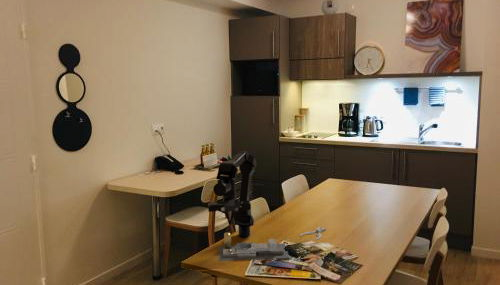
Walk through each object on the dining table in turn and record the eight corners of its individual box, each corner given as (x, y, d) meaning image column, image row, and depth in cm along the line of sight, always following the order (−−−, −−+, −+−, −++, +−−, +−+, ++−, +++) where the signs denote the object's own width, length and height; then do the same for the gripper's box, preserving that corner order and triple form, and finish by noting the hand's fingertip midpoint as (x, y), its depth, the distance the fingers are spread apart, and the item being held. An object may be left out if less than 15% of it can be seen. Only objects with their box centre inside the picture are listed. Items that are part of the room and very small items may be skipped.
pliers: (298, 233, 199) (314, 225, 211) (298, 236, 200) (314, 228, 211) (316, 237, 193) (331, 229, 205) (316, 241, 193) (331, 232, 205)
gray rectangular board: (219, 247, 187) (219, 246, 187) (284, 245, 188) (284, 243, 188) (218, 262, 171) (218, 260, 171) (289, 259, 173) (289, 257, 172)
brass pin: (224, 247, 185) (223, 232, 184) (231, 246, 186) (230, 232, 185) (224, 250, 182) (224, 235, 181) (231, 249, 183) (230, 234, 182)
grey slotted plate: (223, 251, 181) (223, 246, 181) (281, 248, 182) (281, 244, 182) (223, 258, 173) (223, 253, 173) (284, 255, 174) (284, 251, 174)
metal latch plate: (236, 246, 181) (236, 239, 181) (275, 244, 182) (274, 238, 181) (237, 253, 173) (236, 246, 173) (277, 252, 174) (276, 244, 174)
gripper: (207, 196, 171) (208, 232, 174) (251, 194, 173) (252, 229, 175) (207, 189, 182) (209, 223, 185) (249, 188, 184) (250, 221, 186)
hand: (230, 224), depth 182 cm, fingers closed
